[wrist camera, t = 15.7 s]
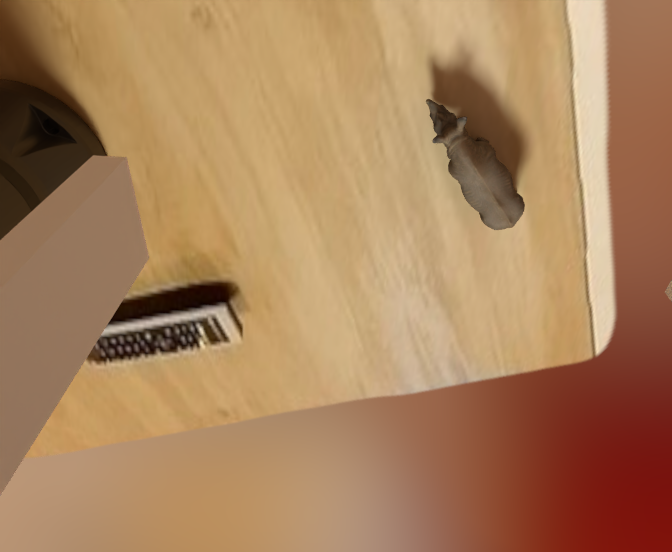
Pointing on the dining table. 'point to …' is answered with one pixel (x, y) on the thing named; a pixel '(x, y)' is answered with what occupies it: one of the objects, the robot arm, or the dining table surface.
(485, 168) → the rhino figurine
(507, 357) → the dining table surface
